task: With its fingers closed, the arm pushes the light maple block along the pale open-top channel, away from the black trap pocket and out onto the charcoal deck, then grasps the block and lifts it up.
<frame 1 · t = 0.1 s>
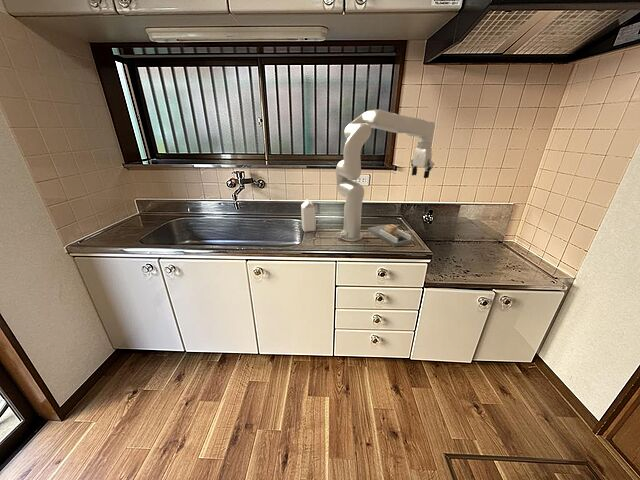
hand: (419, 176, 151), 31 cm above the worktop, tool pointing down, fingers open, 9 cm apart
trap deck: (388, 236, 148), on the worktop
maple block: (390, 234, 146), point 2 cm above the worktop, touching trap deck
milk carton: (308, 229, 159), on the worktop
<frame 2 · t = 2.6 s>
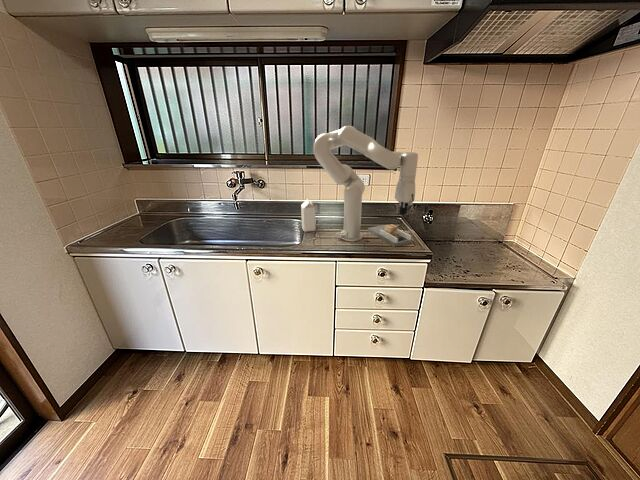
hand: (402, 214, 134), 16 cm above the worktop, tool pointing down, fingers closed
nothing on the worktop moved.
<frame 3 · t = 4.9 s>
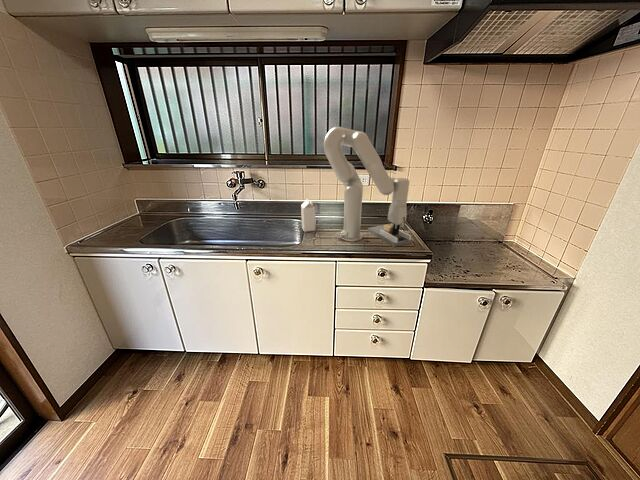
hand: (395, 234, 142), 3 cm above the worktop, tool pointing down, fingers closed
maple block: (389, 233, 147), point 2 cm above the worktop, touching gripper, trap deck
everything else where it was.
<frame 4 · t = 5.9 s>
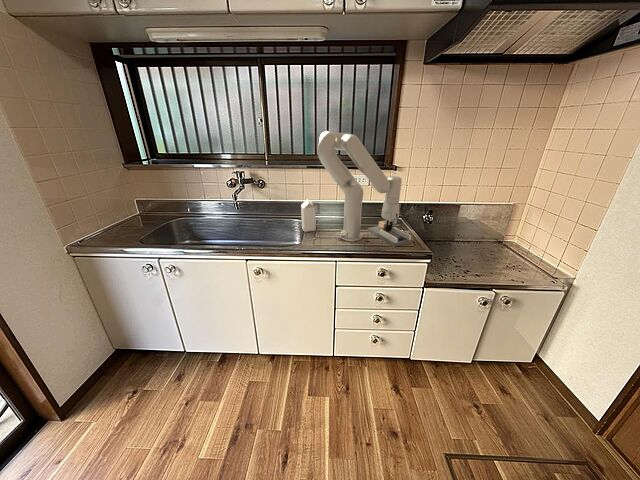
hand: (388, 230, 147), 4 cm above the worktop, tool pointing down, fingers closed
maple block: (384, 230, 152), point 2 cm above the worktop, touching gripper, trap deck
everything else where it was.
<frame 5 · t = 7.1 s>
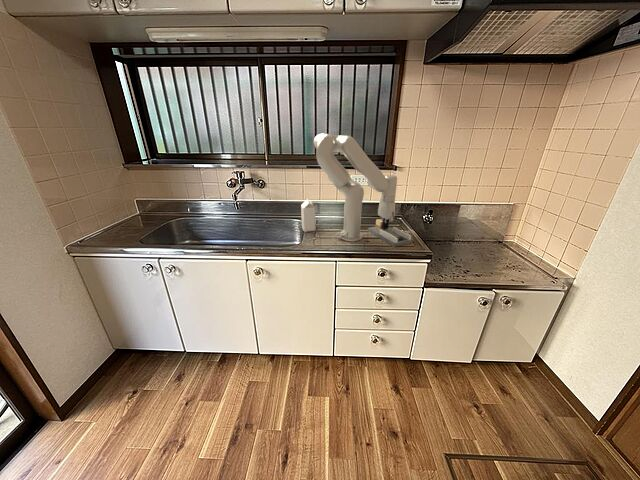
hand: (385, 228, 150), 4 cm above the worktop, tool pointing down, fingers closed
maple block: (381, 228, 155), point 2 cm above the worktop, touching gripper, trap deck
everything else where it was.
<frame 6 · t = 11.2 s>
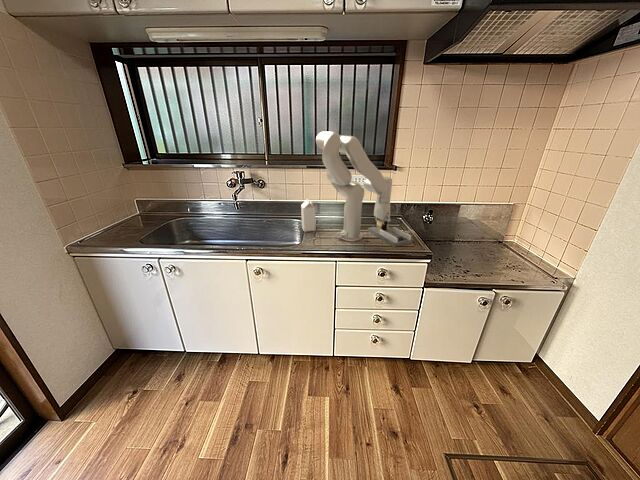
hand: (380, 228, 154), 2 cm above the worktop, tool pointing down
maple block: (382, 228, 154), point 2 cm above the worktop, touching gripper
everything else where it was.
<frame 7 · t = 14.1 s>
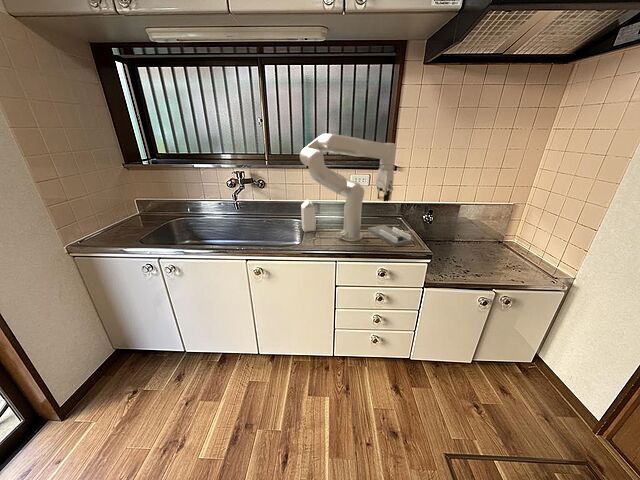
hand: (382, 199, 146), 20 cm above the worktop, tool pointing down, fingers closed on maple block, 5 cm apart
maple block: (384, 199, 147), point 20 cm above the worktop, touching gripper
everything else where it was.
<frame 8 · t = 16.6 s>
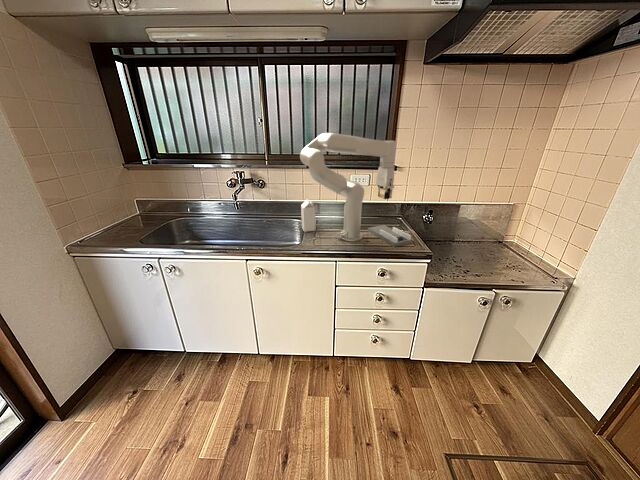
hand: (383, 197, 146), 21 cm above the worktop, tool pointing down, fingers closed on maple block, 5 cm apart
maple block: (385, 197, 146), point 21 cm above the worktop, touching gripper
everything else where it was.
at the end: the gripper is holding maple block; maple block inside the target area on the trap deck (1.3 cm from its centre), point 21.1 cm above the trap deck's base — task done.
